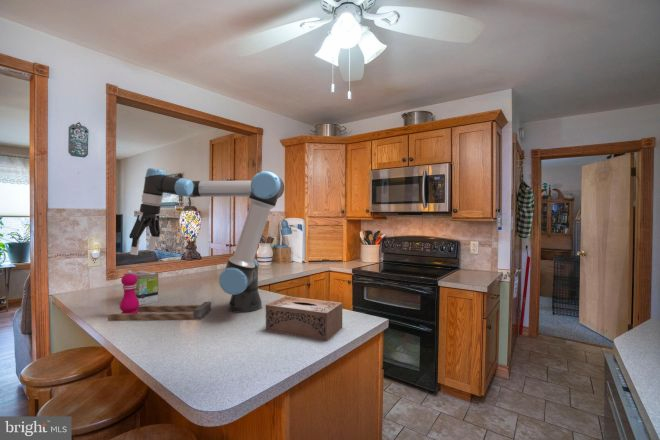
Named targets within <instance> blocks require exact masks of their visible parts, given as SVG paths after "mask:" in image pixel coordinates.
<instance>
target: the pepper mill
mask: <svg viewBox="0 0 660 440" xmlns="http://www.w3.org/2000/svg"><path fill="white" fill-rule="evenodd" d="M132 272H133V271H132V270H130V269H128V270H127V272H126V273H127V274H126V275H123V276H122V277H121V280H120V282H121V284H122V290H123V296H122V299H121V301H120V304H119V310H120V311H121V313H120V314H131V313H139V312H138V310H137V308H138V307H139V306H140V305H139V301H138V299H137V297H136V295H135V288H136V284H135V283H136V282H137V276H136V275H135V274H131V273H132Z"/></svg>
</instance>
